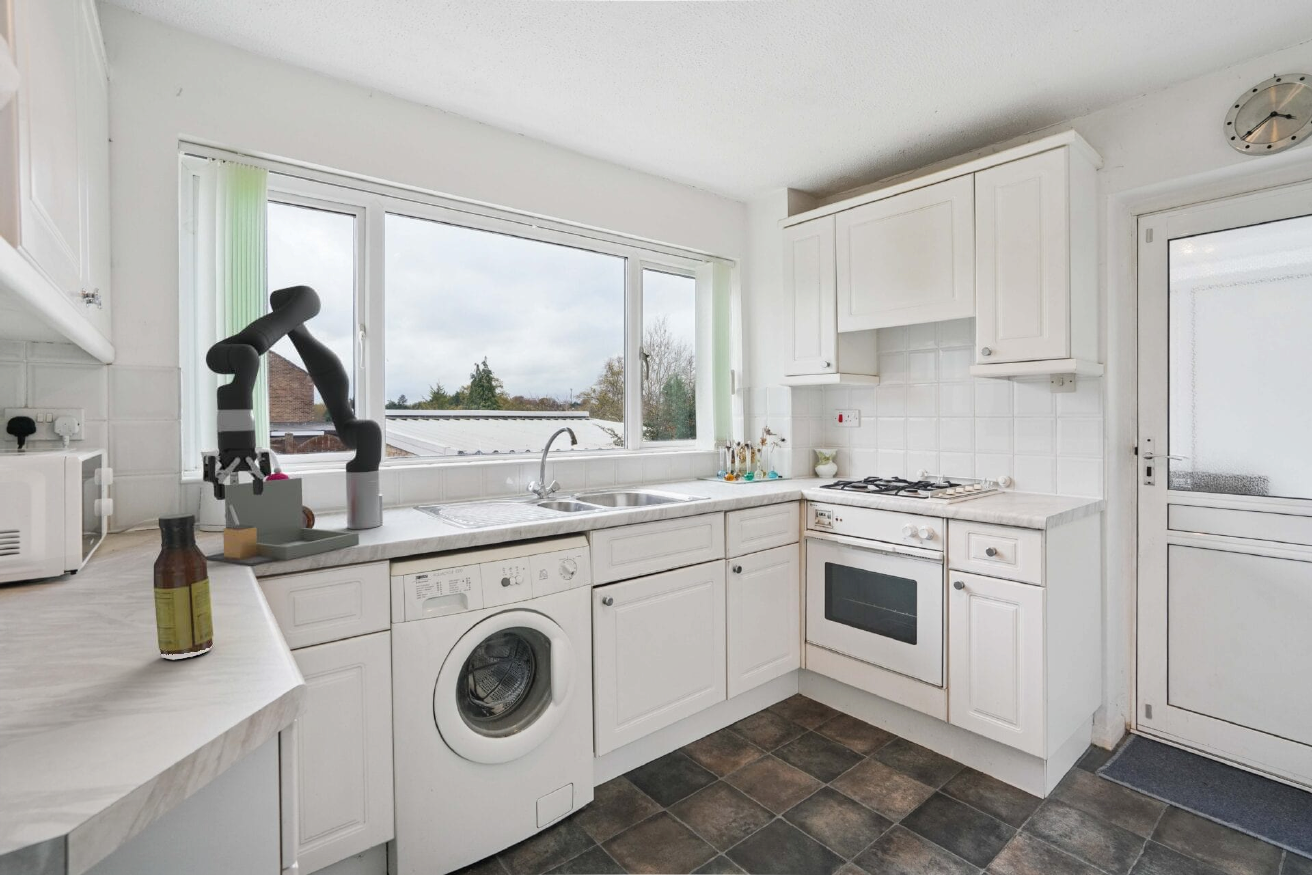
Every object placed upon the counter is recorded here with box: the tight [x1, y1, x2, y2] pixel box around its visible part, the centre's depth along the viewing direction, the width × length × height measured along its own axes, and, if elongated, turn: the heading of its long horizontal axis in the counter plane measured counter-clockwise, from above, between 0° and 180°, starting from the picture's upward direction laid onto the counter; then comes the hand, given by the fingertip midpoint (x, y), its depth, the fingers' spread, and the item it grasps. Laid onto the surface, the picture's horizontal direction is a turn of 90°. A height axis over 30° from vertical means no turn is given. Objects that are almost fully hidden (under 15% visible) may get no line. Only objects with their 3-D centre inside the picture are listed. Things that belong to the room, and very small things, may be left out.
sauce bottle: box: [153, 512, 214, 655], centre depth 88 cm, size 7×6×20 cm
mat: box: [205, 552, 278, 567], centre depth 148 cm, size 6×18×1 cm, turn 65°
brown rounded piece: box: [302, 505, 316, 529], centre depth 182 cm, size 15×3×8 cm, turn 86°
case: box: [224, 477, 360, 561], centre depth 161 cm, size 20×23×17 cm
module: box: [222, 525, 257, 560], centre depth 148 cm, size 4×6×7 cm, turn 66°
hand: (239, 497), depth 148 cm, fingers open, 8 cm apart
